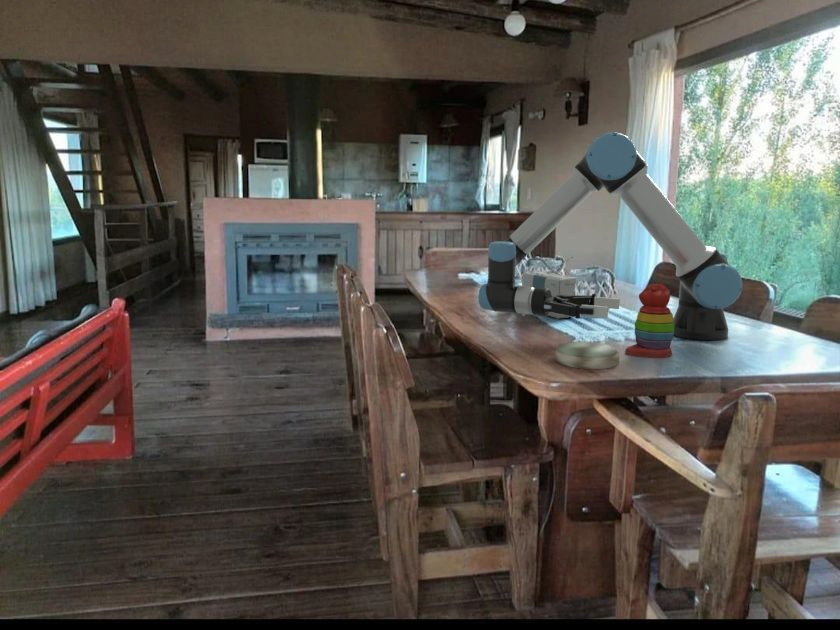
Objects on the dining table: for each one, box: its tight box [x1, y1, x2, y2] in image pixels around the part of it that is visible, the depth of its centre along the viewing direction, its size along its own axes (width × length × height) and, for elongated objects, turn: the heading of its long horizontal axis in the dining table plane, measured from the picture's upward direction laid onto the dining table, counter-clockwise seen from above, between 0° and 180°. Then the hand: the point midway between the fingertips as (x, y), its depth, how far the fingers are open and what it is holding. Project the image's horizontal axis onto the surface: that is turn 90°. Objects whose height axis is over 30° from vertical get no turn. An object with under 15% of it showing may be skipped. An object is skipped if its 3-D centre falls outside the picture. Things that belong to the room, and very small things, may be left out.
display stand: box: [554, 341, 620, 370], centre depth 155 cm, size 15×15×3 cm
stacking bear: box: [624, 282, 675, 359], centre depth 160 cm, size 11×10×18 cm
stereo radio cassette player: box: [521, 256, 578, 320], centre depth 213 cm, size 21×8×20 cm, turn 24°
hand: (613, 308), depth 165 cm, fingers open, 13 cm apart
